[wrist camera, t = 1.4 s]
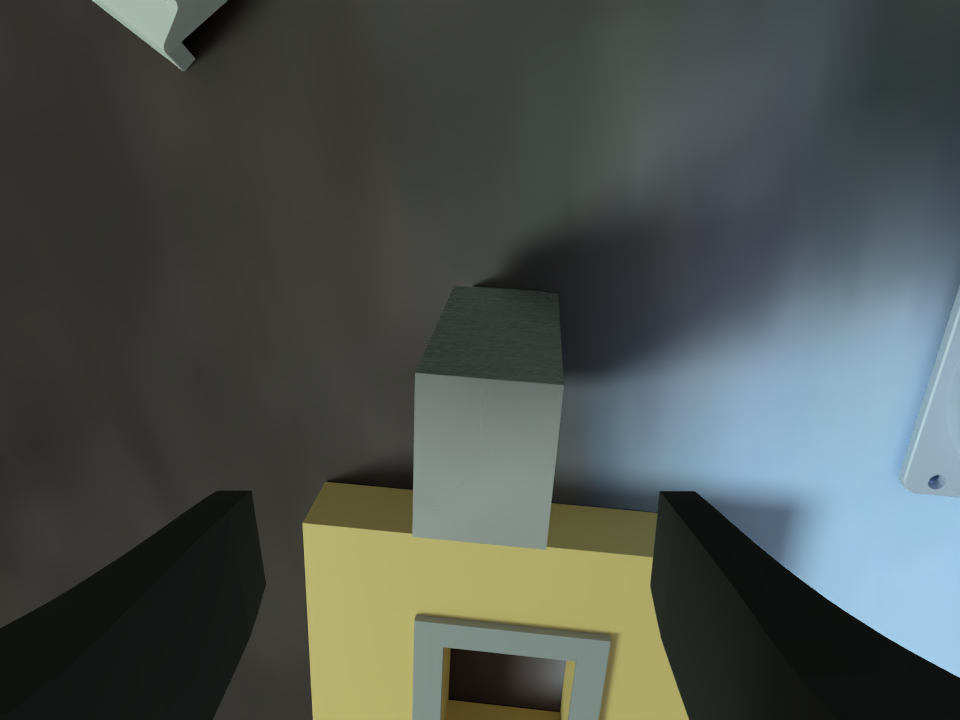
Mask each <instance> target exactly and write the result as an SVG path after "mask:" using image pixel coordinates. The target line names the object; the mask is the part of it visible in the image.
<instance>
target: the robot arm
mask: <svg viewBox="0 0 960 720" xmlns="http://www.w3.org/2000/svg"><path fill="white" fill-rule="evenodd" d="M935 475H939V477H938V479H937V480H936V481H934V482H931V483H928V481H929V480H930V478H931V477H933V476H935ZM899 480H900V483H901V484H902V485H903V486H904V488H905V489H907V490H908V491H909V492H912V493H917V494H928V495H939V496H950V497H960V287H959V290H958V293H957V296H956V299H955V302H954V305H953V308H952V311H951V315H950V318H949V321H948V324H947V327H946V330H945V333H944V336H943V339H942V342H941V346H940V349H939V352H938V355H937V358H936V361H935V364H934V367H933V370H932V373H931V377H930V380H929V383H928V386H927V389H926V392H925V395H924V398H923V401H922V404H921V408H920V411H919V414H918V417H917V420H916V423H915V426H914V429H913V432H912V435H911V439H910V442H909V445H908V448H907V451H906V454H905V457H904V460H903V463H902V466H901V470H900V473H899ZM265 586H266V581H265V575H264V569H263V562H262V556H261V549H260V543H259V536H258V530H257V523H256V517H255V511H254V504H253V498H252V491H216V492H215V493H213V494H211V495H210V496H208V497H206V498H205V499H203V500H202V501H200V502H199V503H197V504H196V505H195V506H193V507H192V508H190V509H189V510H187V511H186V512H185V513H183V514H182V515H180V516H179V517H177V518H176V519H175V520H173V521H172V522H170V523H169V524H168V525H166V526H165V527H163V528H162V529H160V530H159V531H158V532H156V533H155V534H153V535H152V536H150V537H149V538H148V539H146V540H145V541H143V542H142V543H140V544H139V545H138V546H136V547H135V548H133V549H132V550H130V551H129V552H127V553H126V554H125V555H123V556H121V557H120V558H118V559H117V560H115V561H114V562H112V563H111V564H109V565H107V566H106V567H104V568H103V569H101V570H100V571H98V572H97V573H95V574H93V575H92V576H90V577H89V578H87V579H86V580H84V581H83V582H81V583H79V584H78V585H76V586H75V587H73V588H72V589H70V590H68V591H67V592H65V593H63V594H62V595H60V596H58V597H57V598H55V599H53V600H51V601H50V602H48V603H46V604H44V605H43V606H41V607H39V608H37V609H36V610H34V611H32V612H30V613H28V614H26V615H24V616H23V617H21V618H19V619H17V620H15V621H13V622H11V623H10V624H8V625H6V626H4V627H2V628H0V720H213V718H214V715H215V713H216V711H217V709H218V707H219V705H220V702H221V700H222V698H223V696H224V694H225V692H226V689H227V687H228V685H229V683H230V681H231V679H232V676H233V674H234V672H235V670H236V667H237V665H238V663H239V661H240V659H241V656H242V654H243V652H244V650H245V647H246V645H247V643H248V640H249V638H250V636H251V632H252V629H253V626H254V623H255V620H256V617H257V614H258V610H259V607H260V603H261V600H262V596H263V593H264V589H265ZM650 588H651V593H652V598H653V603H654V608H655V613H656V618H657V622H658V627H659V631H660V636H661V640H662V643H663V646H664V649H665V652H666V655H667V658H668V661H669V664H670V667H671V669H672V672H673V675H674V678H675V681H676V684H677V687H678V690H679V693H680V695H681V698H682V701H683V704H684V707H685V710H686V713H687V715H688V718H689V720H960V678H959V677H957V676H955V675H953V674H951V673H949V672H948V671H946V670H944V669H942V668H940V667H938V666H936V665H935V664H933V663H931V662H929V661H927V660H925V659H924V658H922V657H920V656H918V655H916V654H914V653H912V652H911V651H909V650H907V649H905V648H904V647H902V646H900V645H898V644H897V643H895V642H893V641H891V640H890V639H888V638H886V637H885V636H883V635H881V634H880V633H878V632H877V631H875V630H874V629H872V628H870V627H869V626H867V625H866V624H864V623H862V622H861V621H859V620H858V619H856V618H855V617H853V616H851V615H850V614H848V613H847V612H845V611H844V610H842V609H841V608H839V607H838V606H836V605H835V604H833V603H832V602H830V601H829V600H828V599H826V598H825V597H823V596H822V595H821V594H819V593H818V592H817V591H815V590H814V589H813V588H811V587H810V586H808V585H807V584H806V583H804V582H803V581H802V580H800V579H799V578H798V577H796V576H795V575H794V574H792V573H791V572H790V571H789V570H787V569H786V568H785V567H783V566H782V565H781V564H780V563H778V562H777V561H776V560H775V559H773V558H772V557H771V556H770V555H768V554H767V553H766V552H765V551H764V550H762V549H761V548H760V547H759V546H758V545H756V544H755V543H754V542H753V541H752V540H751V539H749V538H748V537H747V536H746V535H745V534H744V533H742V532H741V531H740V530H739V529H738V528H737V527H736V526H734V525H733V524H732V523H731V522H730V521H729V520H727V519H726V518H725V517H724V516H723V515H722V514H721V513H720V512H718V511H717V510H716V509H715V508H714V507H713V506H712V505H710V504H709V503H708V502H707V501H706V500H705V499H703V498H702V497H701V496H700V495H699V494H697V493H696V492H695V491H660V494H659V504H658V513H657V523H656V533H655V543H654V552H653V562H652V572H651V582H650Z"/></svg>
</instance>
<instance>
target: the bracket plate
mask: <svg viewBox="0 0 960 720" xmlns="http://www.w3.org/2000/svg"><path fill="white" fill-rule="evenodd" d="M656 523H657V513H652V512H641V511H631V510H620V509H609V508H599V507H588V506H577V505H567V504H556V503H551V510H550V520H549V529H548V539H547V548H546V550H542V549H532V548H522V547H512V546H501V545H491V544H481V543H470V542H460V541H450V540H440V539H429V538H419V537H412V526H413V490H407V489H396V488H386V487H375V486H364V485H354V484H343V483H332V482H325V484H324V485H323V487H322V489H321V491H320V493H319V495H318V496H317V498H316V500H315V502H314V504H313V505H312V507H311V509H310V511H309V513H308V514H307V516H306V518H305V520H304V522H303V539H304V558H305V577H306V595H307V614H308V633H309V652H310V671H311V690H312V709H313V720H689V718H688V715H687V713H686V710H685V707H684V704H683V701H682V698H681V695H680V693H679V690H678V687H677V684H676V681H675V678H674V675H673V672H672V669H671V667H670V664H669V661H668V658H667V655H666V652H665V649H664V646H663V643H662V640H661V636H660V631H659V627H658V622H657V618H656V613H655V608H654V603H653V598H652V593H651V588H650V582H651V572H652V562H653V552H654V543H655V533H656ZM451 648H455V649H464V650H473V651H483V652H492V653H501V654H510V655H520V656H529V657H538V658H548V659H557V660H566V668H565V675H564V683H563V691H562V699H561V706H560V712H552V711H543V710H535V709H526V708H517V707H508V706H499V705H490V704H481V703H472V702H464V701H455V700H448V696H449V674H450V653H451Z"/></svg>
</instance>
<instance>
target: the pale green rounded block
mask: <svg viewBox="0 0 960 720" xmlns="http://www.w3.org/2000/svg"><path fill="white" fill-rule="evenodd" d="M92 1H94V2H95V3H96V4H97V5H99V6H100V7H101V8H103V9H104V10H105V11H106V12H108V13H109V14H110V15H112V16H113V17H114V18H115V19H117V20H118V21H119V22H121V23H122V24H123V25H124V26H126V27H127V28H128V29H130V30H131V31H132V32H133V33H135V34H136V35H137V36H139V37H140V38H141V39H142V40H144V41H145V42H146V43H148V44H149V45H150V46H151V47H153V48H154V49H155V50H157V51H158V52H159V53H160V54H162V55H163V56H164V57H166V58H167V59H168V60H169V61H171V62H172V63H173V64H175V65H176V66H177V67H178V68H180V69H181V70H182V71H184V72H185V71H186V70H187V68H188V67H189V66H190V65H191V64H192V62H193V61H194V60H195V58H194V56H193V55H192V54H191V53H190V52H189V51H188V49H187V48H186V47H185V46H184V45H183V44H182V41H183V40H184V39H185V38H186V37H187V36H188V35H190V34H191V33H192V32H193V31H194V30H195V29H196V28H197V27H199V26H200V25H201V24H202V23H203V22H204V21H205V20H206V19H207V18H209V17H210V16H211V15H212V14H213V13H214V12H215V11H216V10H218V9H219V8H220V7H221V6H222V5H223V4H224V3H225V2H227V1H228V0H92Z"/></svg>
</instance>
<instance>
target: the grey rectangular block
mask: <svg viewBox="0 0 960 720" xmlns="http://www.w3.org/2000/svg"><path fill="white" fill-rule="evenodd" d="M563 388H564V380H563V363H562V347H561V330H560V314H559V297H558V293H547V292H543V291H535V290H521V289H508V288H494V287H481V286H472V287H466V286H454V287H453V290H452V292H451V294H450V296H449V299H448V301H447V303H446V305H445V308H444V310H443V312H442V314H441V316H440V319H439V321H438V323H437V325H436V328H435V330H434V332H433V334H432V337H431V339H430V341H429V343H428V346H427V348H426V350H425V352H424V354H423V357H422V359H421V361H420V363H419V366H418V368H417V370H416V372H415V414H414V470H413V526H412V537H419V538H429V539H440V540H450V541H460V542H470V543H481V544H491V545H501V546H512V547H522V548H532V549H542V550H546V548H547V539H548V529H549V520H550V510H551V501H552V492H553V482H554V473H555V464H556V454H557V445H558V435H559V426H560V417H561V407H562V398H563Z"/></svg>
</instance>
